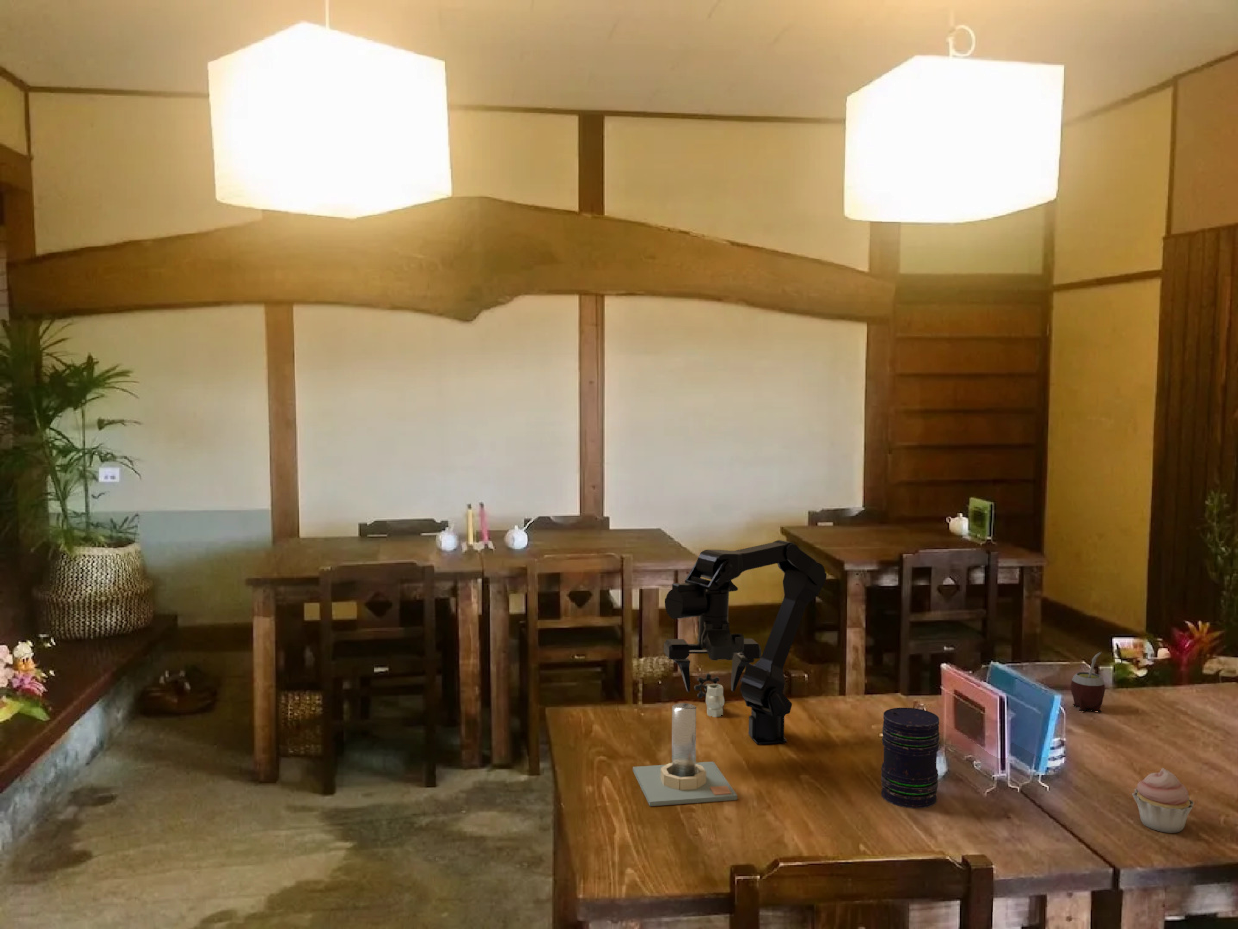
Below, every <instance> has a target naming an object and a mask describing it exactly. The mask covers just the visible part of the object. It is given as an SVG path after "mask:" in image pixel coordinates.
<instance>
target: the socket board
mask: <svg viewBox="0 0 1238 929" xmlns="http://www.w3.org/2000/svg"><path fill="white" fill-rule="evenodd" d="M632 772H633V773H634V774H633V775H634V776H635V778H636V780H637V782H638V785H639V786H640V789H641V791H642V793H643V795H644V797H645V799H646V802H647V804H648V806H649V807H660V806H671V805H682V804H683V805H684V804H699V803H711V802H712V803H713V802H723V801H737V800H738V795H737V793H736V791H735V790H734V789H733V787H732V785H731V784H730V783H729V781H728V780H727V779H726V777H725V776H724V774H723V773H722V772H721V770H720V769H719V768H718V766H717V764H716V763H715V761H702V762H701V761H700V762H696V775H695V776H689V777H678V776H675V775H672V762H669V763H667V764H658V765H657V764H656V765H642V766H641V765H640V766H632Z"/></svg>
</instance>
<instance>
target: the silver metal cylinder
mask: <svg viewBox="0 0 1238 929" xmlns="http://www.w3.org/2000/svg"><path fill="white" fill-rule="evenodd" d="M696 739H697V706H696V705H694V704H691V703H685V702H680V703H675V704H673V705H672V706H671V763H672V775H675V776H678V777H689V776H695V775H696V763H697V760H696V759H697V754H696V753H697V751H696V750H697V749H696V748H697V745H696V744H697V740H696Z"/></svg>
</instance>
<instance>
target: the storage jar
mask: <svg viewBox="0 0 1238 929" xmlns="http://www.w3.org/2000/svg"><path fill="white" fill-rule="evenodd" d="M882 716H883V722H882V731H881V732H882V733H881V735H882V738H881V741H882V746H883V762H882V764H881V773H880V775H881V777H880V781H881V788H882V789H881V790H880V791H881V794H880V795H881V797H882V798H883V800H885V801H886V802H888V803H890V804H892V805H894V806H898V807H902V808H908V809H925V808H929V807H932V806H934V805H935V804H936V803H937V800H938V798H937V797H938V796H937V792H938V786H939V779H938V778H939V770H938V768H937V761H938V760H937V758H938V751H939V749H940V748H939V747H940V742H939V741H940V728H939V726H940V718H939V716H938V715H936V714H935V713H933V712H931V711H929V710H925V709H920V708H915V707H894V708H889V709H887V710H885V711H884V712H883V715H882Z"/></svg>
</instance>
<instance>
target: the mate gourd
mask: <svg viewBox="0 0 1238 929" xmlns="http://www.w3.org/2000/svg"><path fill="white" fill-rule="evenodd" d="M1101 654H1102V651H1100V652H1098V653H1096V654H1095V655H1094V656H1093V657H1092V659H1091V665H1090V669H1089V671H1080V672H1076V673H1075V674H1074V675H1073V676H1072V679H1071V683H1070V691H1071V695H1072V699H1073V704H1072V706H1073V705H1074V706H1076V707H1075V708H1077V707H1080V708H1079V710H1078V712H1079V711H1085V712H1087V711H1089V710H1092V711H1091V712H1093V711H1098V712H1101V713H1102V710H1101V707H1102V705H1103V702H1104V696H1105V692H1106V687H1105V681H1104V679H1103V677H1102V676H1101V675H1100V674H1097V673H1093V671H1094V668H1095V664H1096V663H1097V659H1098V657H1099V656H1100V655H1101ZM1086 710H1087V711H1086Z"/></svg>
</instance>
